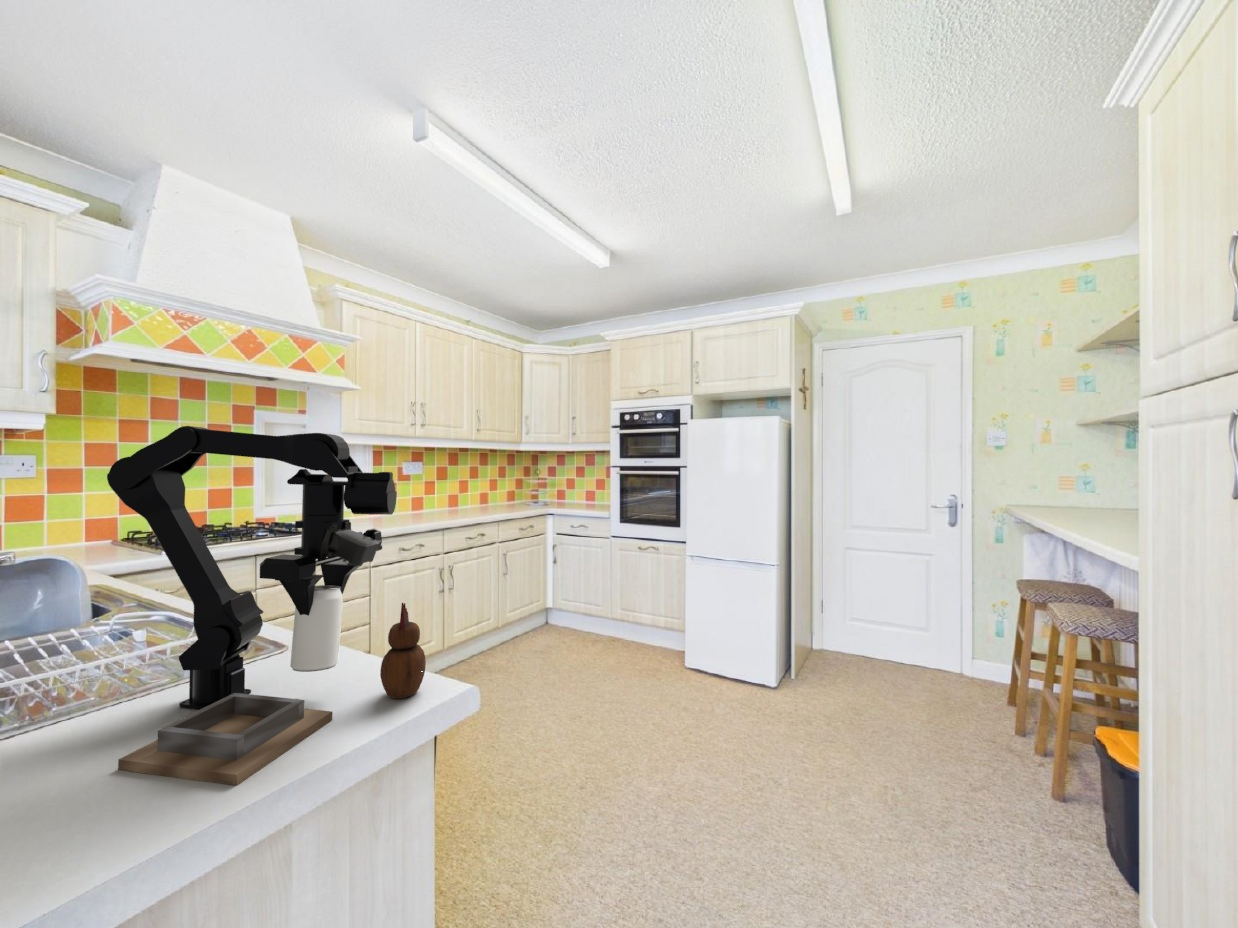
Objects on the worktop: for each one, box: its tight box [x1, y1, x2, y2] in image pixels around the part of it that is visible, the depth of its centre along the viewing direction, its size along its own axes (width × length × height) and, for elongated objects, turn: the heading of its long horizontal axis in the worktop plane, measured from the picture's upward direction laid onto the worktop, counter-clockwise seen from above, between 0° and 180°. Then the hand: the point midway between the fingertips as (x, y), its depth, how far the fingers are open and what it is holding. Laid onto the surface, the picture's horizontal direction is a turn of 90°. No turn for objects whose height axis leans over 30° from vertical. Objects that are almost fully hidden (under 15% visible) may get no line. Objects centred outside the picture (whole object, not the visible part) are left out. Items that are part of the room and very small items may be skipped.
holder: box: [117, 693, 333, 786], centre depth 71 cm, size 16×16×4 cm
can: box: [289, 584, 344, 673], centre depth 85 cm, size 6×6×12 cm
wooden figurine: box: [379, 602, 427, 700], centre depth 87 cm, size 7×6×15 cm
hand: (320, 613), depth 85 cm, fingers closed on can, 6 cm apart
